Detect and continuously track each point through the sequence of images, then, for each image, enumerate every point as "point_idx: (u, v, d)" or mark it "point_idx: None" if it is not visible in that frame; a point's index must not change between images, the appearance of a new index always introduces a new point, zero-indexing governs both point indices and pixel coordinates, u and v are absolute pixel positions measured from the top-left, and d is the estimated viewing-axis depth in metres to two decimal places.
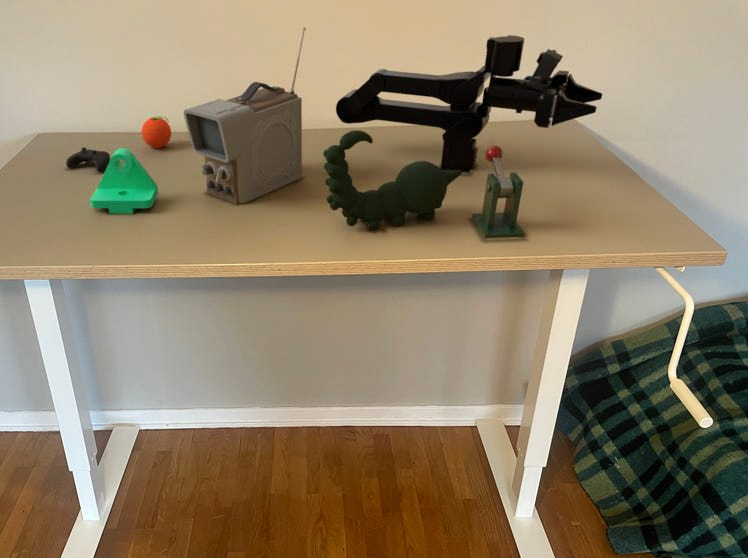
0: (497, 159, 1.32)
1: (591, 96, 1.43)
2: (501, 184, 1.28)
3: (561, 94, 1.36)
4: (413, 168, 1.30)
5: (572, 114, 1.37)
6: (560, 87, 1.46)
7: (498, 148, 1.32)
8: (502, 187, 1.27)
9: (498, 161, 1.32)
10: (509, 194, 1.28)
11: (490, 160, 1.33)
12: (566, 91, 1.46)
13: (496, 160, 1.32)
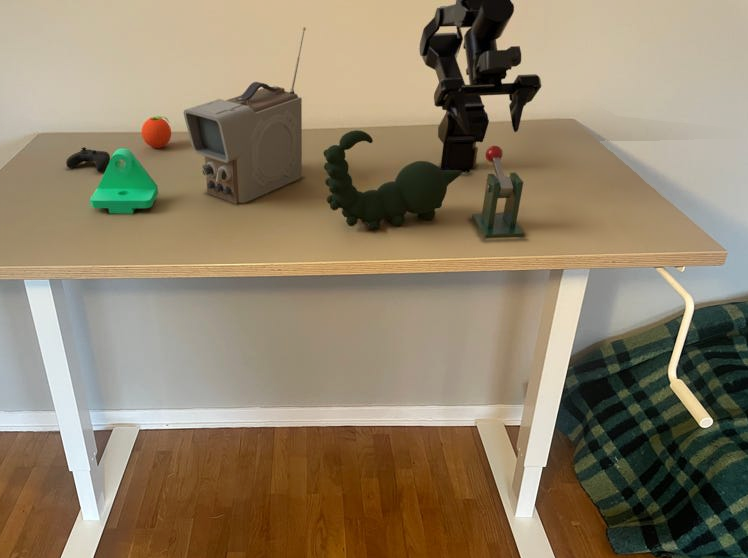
0: (497, 159, 1.32)
1: (514, 122, 1.36)
2: (501, 184, 1.28)
3: (457, 94, 1.34)
4: (413, 168, 1.30)
5: (457, 117, 1.37)
6: (515, 89, 1.37)
7: (498, 148, 1.32)
8: (502, 187, 1.27)
9: (498, 161, 1.32)
10: (509, 194, 1.28)
11: (490, 160, 1.33)
12: (514, 97, 1.37)
13: (496, 160, 1.32)
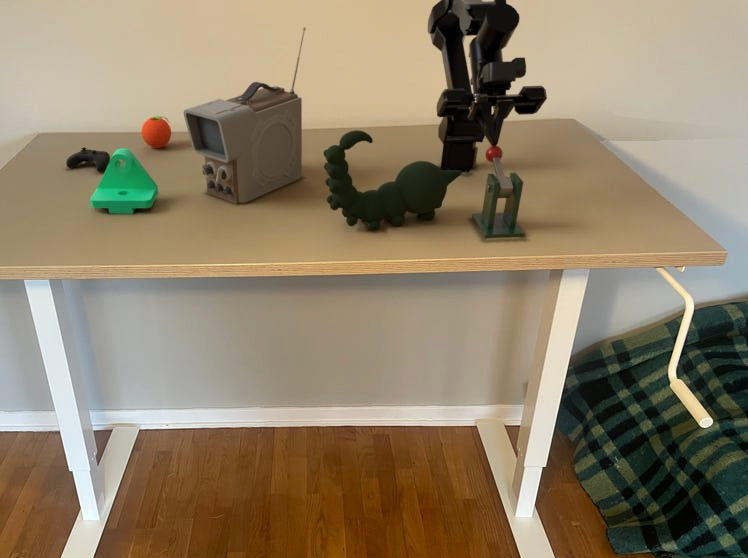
0: (497, 159, 1.32)
1: None
2: (501, 184, 1.28)
3: (484, 105, 1.31)
4: (413, 168, 1.30)
5: (483, 128, 1.34)
6: (496, 101, 1.33)
7: (498, 148, 1.32)
8: (502, 187, 1.27)
9: (498, 161, 1.32)
10: (509, 194, 1.28)
11: (490, 160, 1.33)
12: (495, 110, 1.34)
13: (496, 160, 1.32)
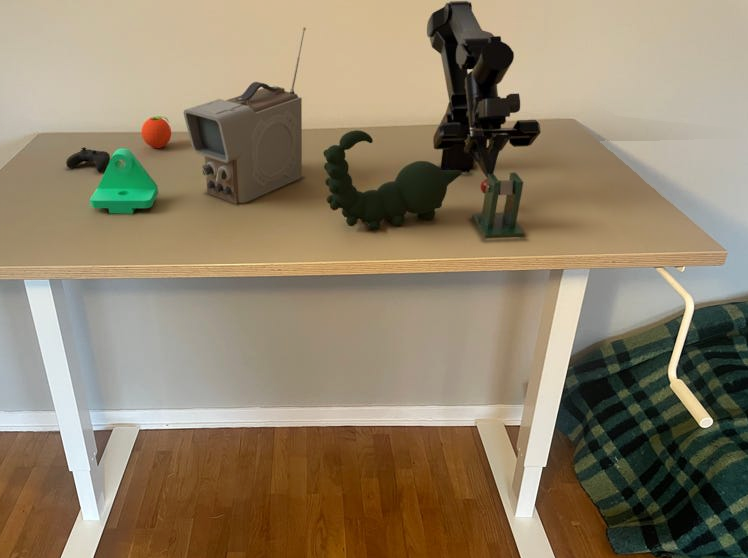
0: None
1: None
2: (500, 180, 1.28)
3: (479, 139, 1.35)
4: (413, 168, 1.30)
5: (478, 160, 1.38)
6: (491, 135, 1.37)
7: None
8: (501, 180, 1.27)
9: None
10: (510, 189, 1.28)
11: None
12: (490, 143, 1.37)
13: None
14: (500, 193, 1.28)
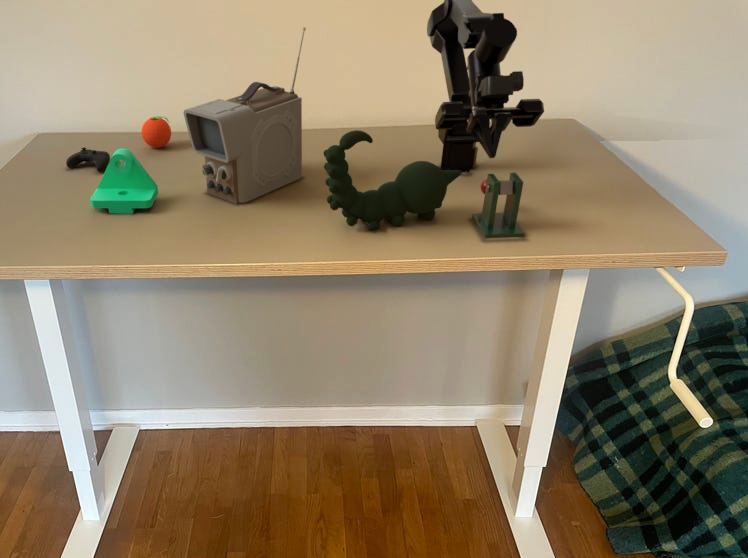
0: None
1: None
2: None
3: (482, 118, 1.33)
4: (413, 168, 1.30)
5: (481, 140, 1.36)
6: (494, 114, 1.35)
7: None
8: None
9: None
10: (510, 189, 1.28)
11: None
12: (493, 122, 1.35)
13: None
14: (500, 193, 1.28)
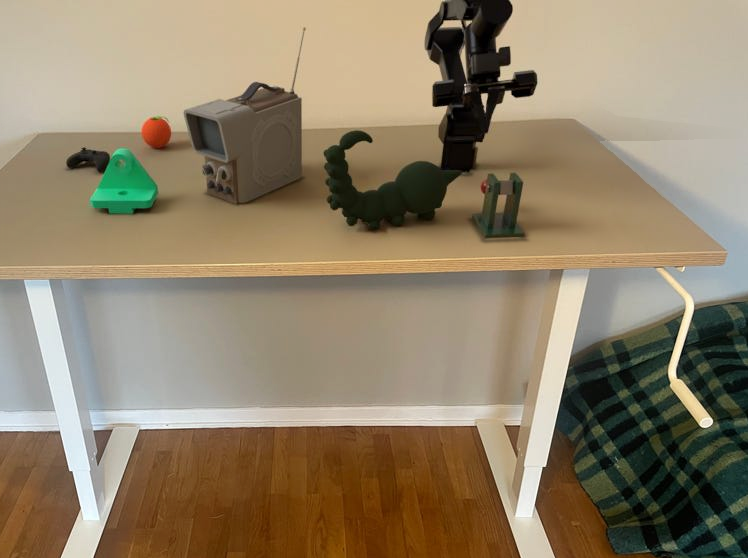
0: None
1: None
2: None
3: (473, 95, 1.36)
4: (413, 168, 1.30)
5: (476, 116, 1.39)
6: (488, 89, 1.37)
7: None
8: None
9: None
10: (510, 189, 1.28)
11: None
12: (487, 97, 1.38)
13: None
14: (500, 193, 1.28)
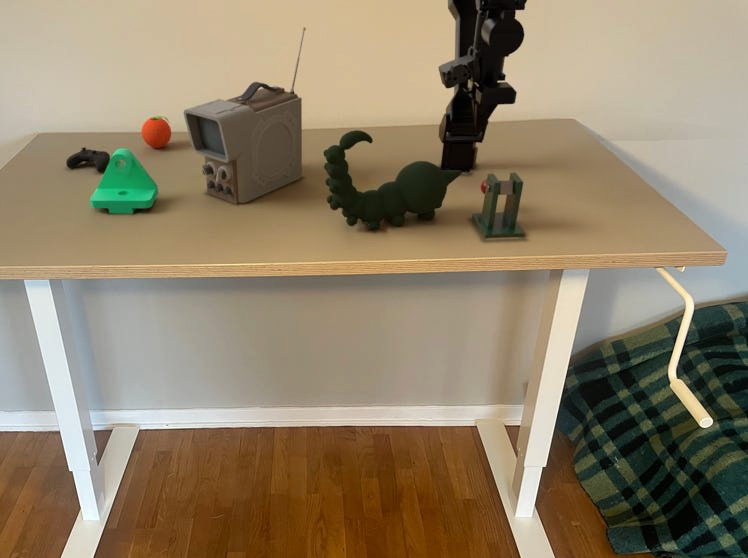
0: None
1: None
2: None
3: (466, 92, 1.37)
4: (413, 168, 1.30)
5: None
6: None
7: None
8: None
9: None
10: (510, 189, 1.28)
11: None
12: None
13: None
14: (500, 193, 1.28)
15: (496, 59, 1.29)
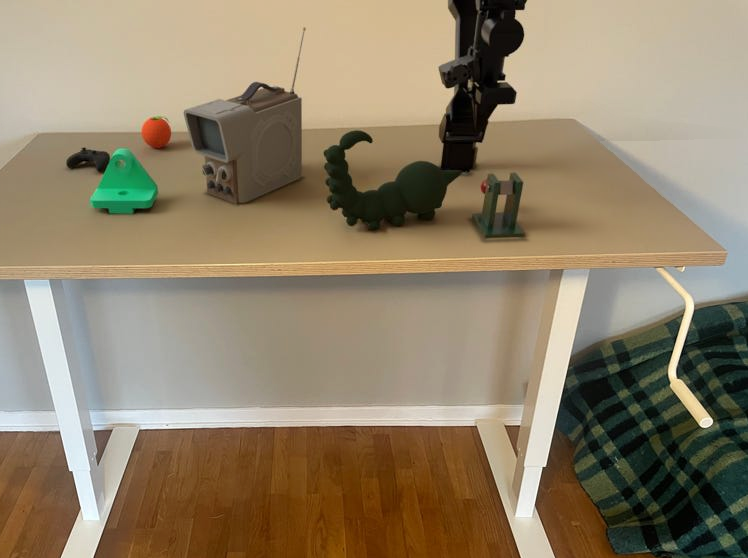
0: None
1: None
2: None
3: (466, 92, 1.37)
4: (413, 168, 1.30)
5: None
6: None
7: None
8: None
9: None
10: (510, 189, 1.28)
11: None
12: None
13: None
14: (500, 193, 1.28)
15: (496, 59, 1.29)
